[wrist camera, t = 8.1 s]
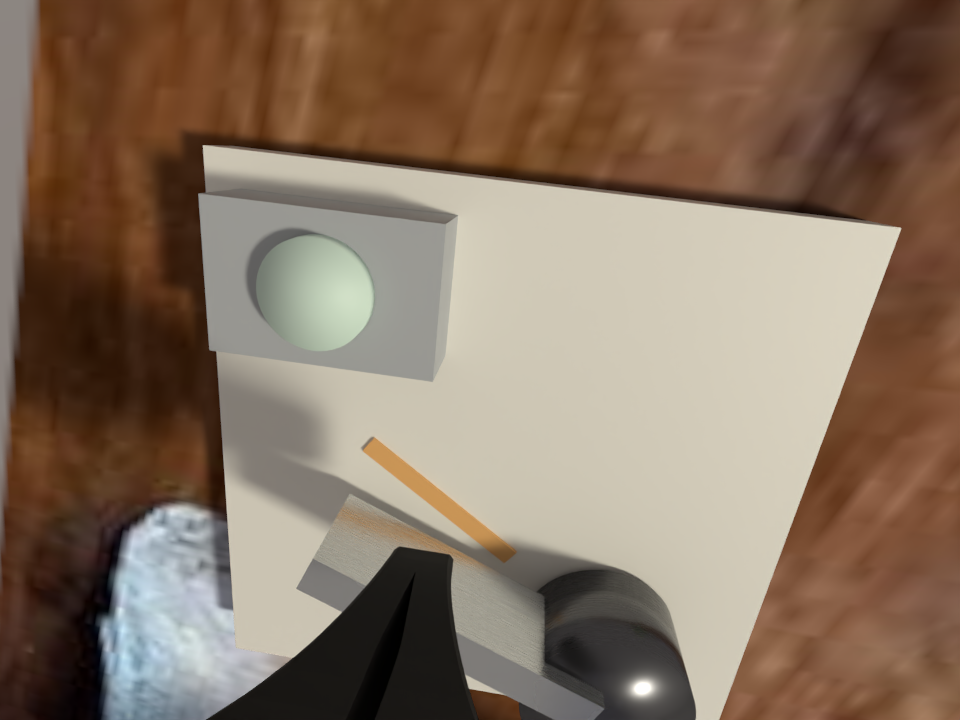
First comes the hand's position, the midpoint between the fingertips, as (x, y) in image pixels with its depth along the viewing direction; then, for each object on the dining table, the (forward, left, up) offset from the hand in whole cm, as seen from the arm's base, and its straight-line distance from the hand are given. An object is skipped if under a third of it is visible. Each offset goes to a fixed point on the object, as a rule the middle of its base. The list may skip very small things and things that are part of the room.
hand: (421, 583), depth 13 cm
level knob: (-4, -2, -5) cm, 6 cm away
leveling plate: (0, -1, -6) cm, 6 cm away
